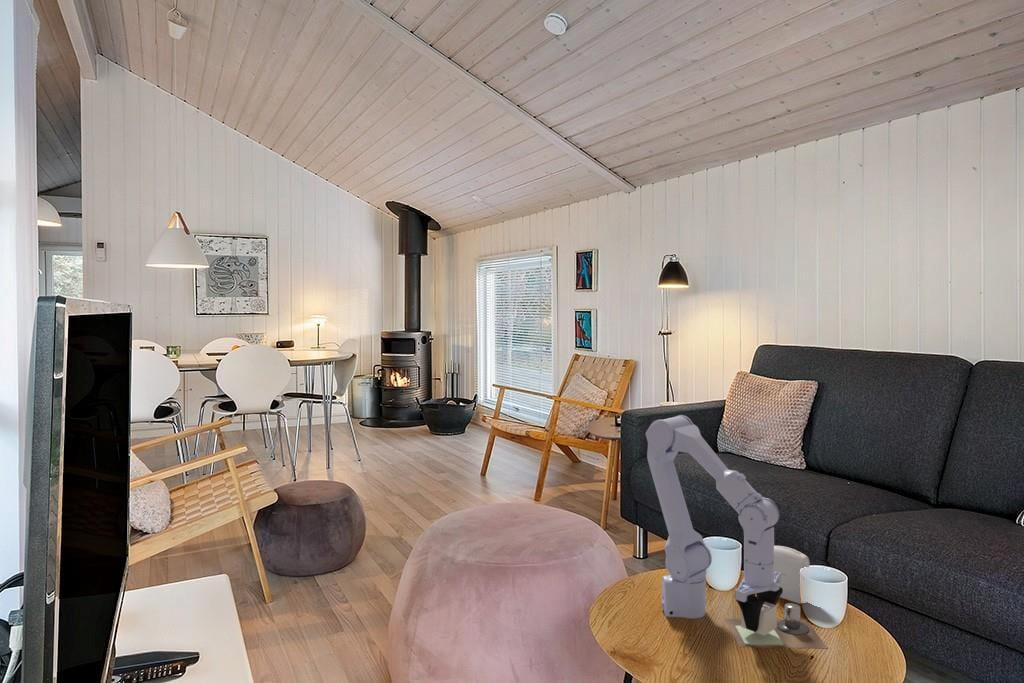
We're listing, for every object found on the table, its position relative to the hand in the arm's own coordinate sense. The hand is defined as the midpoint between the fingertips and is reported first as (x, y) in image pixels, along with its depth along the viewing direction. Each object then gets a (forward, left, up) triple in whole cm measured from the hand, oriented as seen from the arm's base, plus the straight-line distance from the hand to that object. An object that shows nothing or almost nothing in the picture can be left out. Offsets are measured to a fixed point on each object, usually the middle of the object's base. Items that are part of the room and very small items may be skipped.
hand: (758, 625), depth 137 cm
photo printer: (+12, +20, -4) cm, 24 cm away
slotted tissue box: (0, 0, 0) cm, 0 cm away
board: (+4, +1, -3) cm, 5 cm away
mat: (0, 0, -2) cm, 2 cm away
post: (+8, +4, -2) cm, 9 cm away
